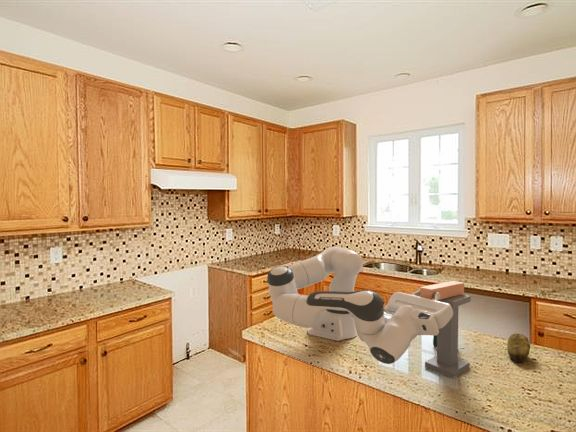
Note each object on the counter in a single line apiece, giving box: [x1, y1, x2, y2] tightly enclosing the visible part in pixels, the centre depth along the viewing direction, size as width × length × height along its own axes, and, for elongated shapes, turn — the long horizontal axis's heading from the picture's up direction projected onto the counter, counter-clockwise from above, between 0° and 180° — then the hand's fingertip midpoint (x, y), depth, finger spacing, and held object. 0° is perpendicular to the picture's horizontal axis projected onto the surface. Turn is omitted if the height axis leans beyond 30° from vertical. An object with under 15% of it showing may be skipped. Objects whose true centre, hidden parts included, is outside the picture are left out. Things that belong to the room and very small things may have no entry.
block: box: [419, 280, 465, 300], centre depth 116 cm, size 22×4×4 cm, turn 127°
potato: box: [506, 333, 531, 363], centre depth 127 cm, size 8×13×8 cm, turn 129°
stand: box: [424, 294, 472, 379], centre depth 119 cm, size 12×10×26 cm
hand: (430, 291), depth 111 cm, fingers closed on block, 4 cm apart
